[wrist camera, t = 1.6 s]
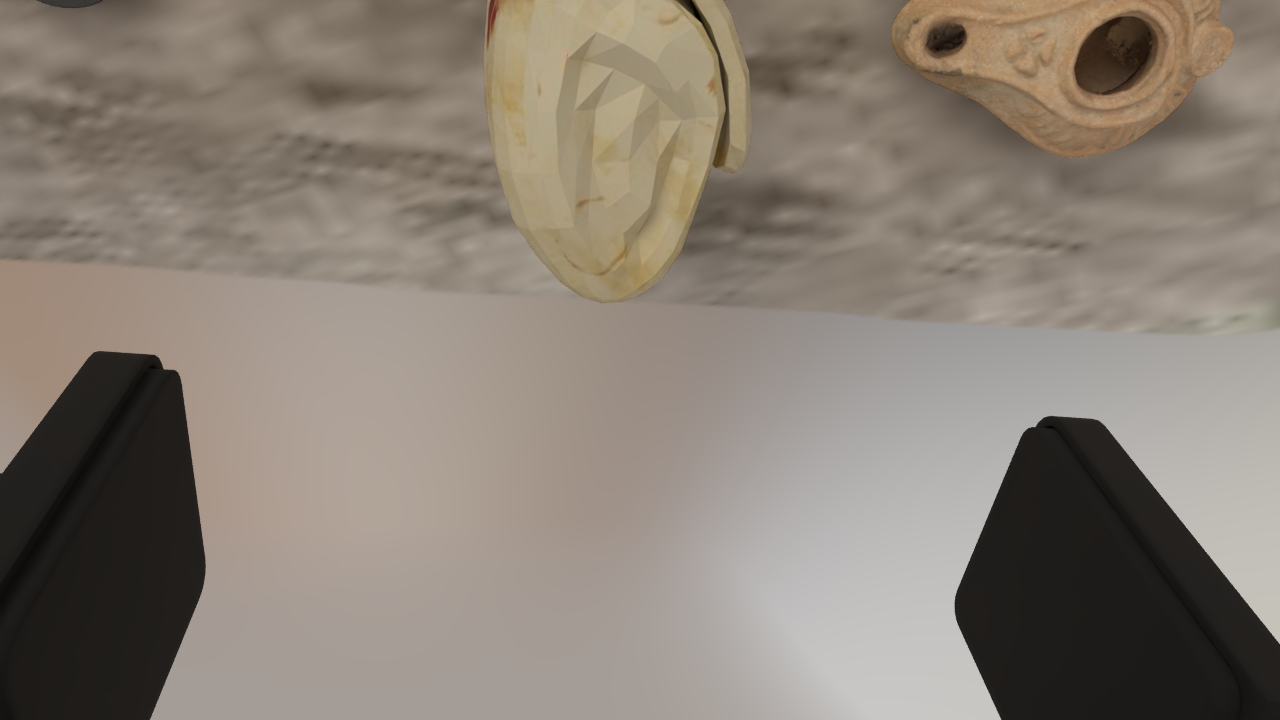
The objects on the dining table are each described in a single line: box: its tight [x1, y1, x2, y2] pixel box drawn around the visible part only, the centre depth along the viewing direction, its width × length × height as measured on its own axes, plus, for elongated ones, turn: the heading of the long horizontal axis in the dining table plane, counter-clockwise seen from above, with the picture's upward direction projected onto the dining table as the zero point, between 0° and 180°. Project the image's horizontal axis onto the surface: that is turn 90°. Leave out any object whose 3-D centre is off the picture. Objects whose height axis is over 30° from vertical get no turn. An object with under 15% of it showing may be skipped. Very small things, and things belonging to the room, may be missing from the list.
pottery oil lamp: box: [891, 0, 1234, 158], centre depth 37 cm, size 9×12×7 cm
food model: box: [484, 0, 752, 303], centre depth 29 cm, size 10×7×20 cm
